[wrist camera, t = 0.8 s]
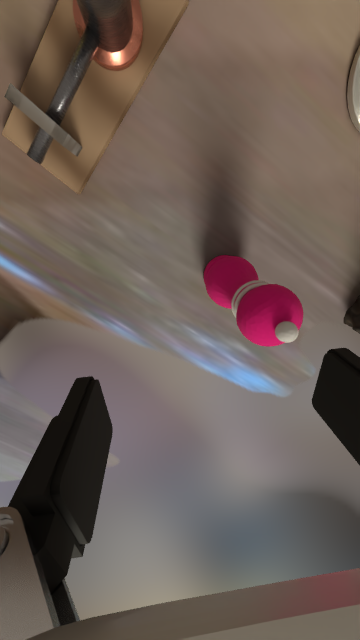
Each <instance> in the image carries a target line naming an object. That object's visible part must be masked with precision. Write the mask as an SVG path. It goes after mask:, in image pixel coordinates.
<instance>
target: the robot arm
mask: <svg viewBox="0 0 360 640" xmlns="http://www.w3.org/2000/svg"><path fill="white" fill-rule="evenodd" d="M347 101H348V110H349V113H350V117H351V120H352V122H353V124H354V126H355V127H356V129H357V130H358V131H359V132H360V46H359V48H358V50H357V53H356V55H355V57H354V61H353V64H352V67H351V70H350V75H349V81H348V91H347ZM312 404H313V407H314V409H315V410H316V411H317V413H318V414H319V415H320V416H321V417H322V419H323V420H324V421H325V423H326V424H327V425H328V426H329V427H330V429H331V430H332V431H333V433H334V434H335V435H336V436H337V438H338V439H339V440H340V441H341V443H342V444H343V445H344V446H345V447H346V449H347V450H348V451H349V452H350V454H351V455H352V456H353V457H354V459H355V460H356V461H357V463H358V464H359V465H360V357H358V356H357V355H356V354H354V353H353V352H351V351H350V350H349V349H347V348H338V349H331V350H329V351H328V352H327V354H325V355H324V358H323V362H322V365H321V369H320V372H319V376H318V380H317V383H316V387H315V390H314V394H313V398H312ZM111 438H112V423H111V420H110V417H109V413H108V410H107V406H106V403H105V400H104V396H103V393H102V390H101V386H100V383H99V380H94V378H93V377H82V378H77V379H76V380H75V382H74V384H73V386H72V388H71V390H70V392H69V394H68V396H67V399H66V400H65V403H64V405H63V407H62V409H61V411H60V413H59V415H58V416H55V417H54V418H53V419H52V420H51V422H50V424H49V426H48V428H47V430H46V432H45V434H44V436H43V438H42V440H41V442H40V444H39V446H38V448H37V450H36V452H35V454H34V456H33V458H32V460H31V462H30V464H29V466H28V468H27V470H26V472H25V473H24V475H23V477H22V479H21V481H20V484H19V485H18V487H17V489H16V491H15V493H14V496H13V498H12V500H11V501H10V503H9V506H8V507H1V508H0V640H360V568H358V569H352V570H346V571H340V572H335V573H329V574H323V575H317V576H312V577H306V578H301V579H295V580H289V581H284V582H278V583H272V584H266V585H260V586H255V587H249V588H244V589H238V590H233V591H227V592H222V593H217V594H211V595H205V596H199V597H194V598H188V599H183V600H177V601H172V602H166V603H161V604H156V605H151V606H146V607H141V608H136V609H131V610H127V611H121V612H117V613H112V614H107V615H102V616H97V617H92V618H89V619H85V620H81V621H80V618H79V616H78V613H77V610H76V608H75V605H74V602H73V599H72V597H71V594H70V592H69V588H68V586H67V584H66V581H65V576H66V575H67V573H68V569H69V565H70V561H71V558H76V557H82V556H83V552H84V548H85V544H87V543H90V541H91V538H92V535H93V530H94V524H95V519H96V514H97V509H98V504H99V498H100V494H101V489H102V484H103V479H104V474H105V469H106V464H107V459H108V454H109V448H110V443H111Z"/></svg>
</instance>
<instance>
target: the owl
mask: <svg viewBox="0 0 360 640" xmlns="http://www.w3.org/2000/svg"><path fill="white" fill-rule="evenodd" d="M344 324H347V325H348V326H351V327H353V330H355V331H356V332H358V333H359V334H360V296H359V297H358V299H357V301H356V303H355V304H354V305H353V306H352V307H351V308H349V310H348V311H347V312H346V314H345V317H344Z"/></svg>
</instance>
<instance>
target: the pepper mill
mask: <svg viewBox="0 0 360 640" xmlns="http://www.w3.org/2000/svg"><path fill="white" fill-rule="evenodd" d="M204 282H205V285H206V290H207V293H208V295H209V296H210V298H211V299H212V300H213V301H214V302H215V303H217V304H218V305H220V306H223V307H225V308H231V309H232V312H233V314H234V316H235V317H236V320H237V325H238V327H239V329H240V331H241V332H242V334H243V335H244V336H245V337H246V338H247V339H248V340H250V341H251V342H253V343H255V344H258V345H261V346H276V345H280V344H282V343H285V342H286V343H288V342H292V341H294V340H295V339H296V338H297V336H298V334H299V333H298V330H299V329H300V327H301V324H302V321H303V309H302V305H301V303H300V301H299V299H298V297H297V296H296V295H295V294H294V293H293V292H292V291H290V290H289V289H287V288H285V287H283V286H280V285H277V284H268V283H267V282H264V281H260V280H258V275H257V273H256V271H255V269H254V267H253V266H252V265H251V264H250V263H249V262H248V261H247V260H245V259H243V258H241V257H237V256H229V255H221V256H218V257H215V258H214V259H212V260H211V261H210V262H209V263H208V265H207V266H206V268H205V271H204Z"/></svg>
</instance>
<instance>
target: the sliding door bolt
mask: <svg viewBox="0 0 360 640" xmlns="http://www.w3.org/2000/svg"><path fill="white" fill-rule="evenodd" d="M73 15H74V21H75V25H76V28H77V31H78V34H79V36H80V41H79V43H78V45H77V47H76V49H75V51H74V53H73V56H72V58H71V60H70V62H69V64H68V66H67V68H66V71H65V73H64V75H63V77H62V79H61V81H60V83H59V85H58V88H57V90H56V92H55V94H54V96H53V98H52V100H51V103H50V105H49V107H48V109H47V111H46V113H45V114H46V115H47V116H48V117H49V118H51V119H52V120H53V121H54V122H55V123H56V124H57V125H59V126H60V124H61V122H62V120H63V118H64V116H65V114H66V112H67V110H68V108H69V106H70V104H71V102H72V100H73V98H74V96H75V94H76V92H77V90H78V88H79V86H80V84H81V82H82V80H83V78H84V76H85V74H86V72H87V70H88V68H89V66H90V64H91V62H92V60H94V61H95V62H96V63H97V64H99V65H100V66H101V67H103V68H105V69H108V70H111V71H121V70H124V69H126V68H128V67H129V66H130V65H132V64H133V62H134V61H135V60H136V58H137V57H138V55H139V52H140V49H141V46H142V40H143V21H142V12H141V7H140V3H139V0H73ZM53 139H54V138H53V137H51V136H50V135H49V134H48V133H47V132H46V131H44V130H43V129H42V128H41V127H40V126H39V128H38V130H37V133H36V135H35V137H34V139H33V141H32V143H31V145H30V147H29V150H28V152H27V155H28V156H29V157H30V158H32V159H33V160H34V161H36V162H37V163H39V164H42V163H43V161H44V159H45V155H46V153H47V151H48V149H49V147H50V145H51V143H52V141H53Z"/></svg>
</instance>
